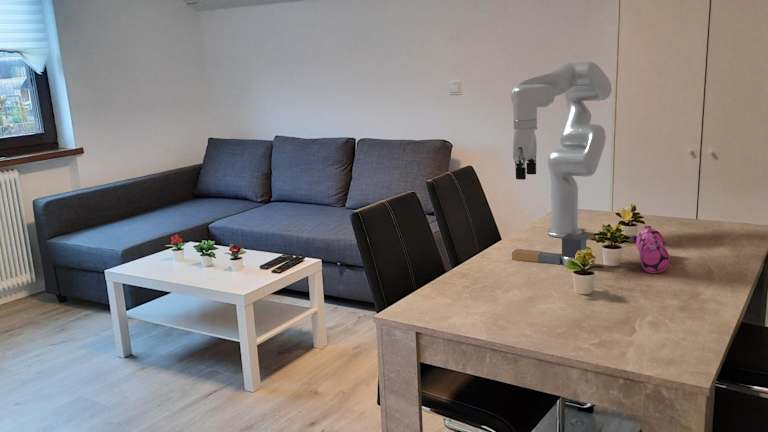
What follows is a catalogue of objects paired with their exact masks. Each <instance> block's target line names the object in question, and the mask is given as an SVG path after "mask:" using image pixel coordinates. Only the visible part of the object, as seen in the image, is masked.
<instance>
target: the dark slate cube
mask: <svg viewBox="0 0 768 432" xmlns="http://www.w3.org/2000/svg"><path fill="white" fill-rule="evenodd" d="M585 249H586V250H587V235H586V234H581V235H578V234H567V235H565V236H564V237H561V254H562V257H570V258H575V254H576V252H577V251H578V250H585Z"/></svg>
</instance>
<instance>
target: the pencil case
mask: <svg viewBox="0 0 768 432" xmlns="http://www.w3.org/2000/svg"><path fill="white" fill-rule="evenodd" d="M643 227H644V229H642V230H640V232H639V233H638V235H632V236H631V242H635V243H636V248H637V250H638V253H639V261H640V265H641V267H642V269H643V270H644V271H645V272H647V273H649V274H659V273H662V272H665V270H666V269H667V268H668V266H669V265H670V263H671V258H670V254H669V252H668V250H667V248H666V247H665V241H664V238H663V235H662V234H661V232H659V231H658V230H657V229H655V228H653V227H652V225H644V226H643Z"/></svg>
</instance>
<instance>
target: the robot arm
mask: <svg viewBox="0 0 768 432" xmlns="http://www.w3.org/2000/svg"><path fill="white" fill-rule="evenodd" d="M611 93H612V82H611V80H610V78H609V77H608V75H607V74H606V73H605V72H604V70H603V69H602V67H600V66H599V65H598V64H596V63H595V62H593V61H577V62H576V61H575V62H574V61H573V62H567V63H564V64H562V65H561V66H559V67H557V68H556V69H554V70H552V71H550V72H547V73H545V74H541V75H538V76H535V77H532V78H528V79H525V80H523V81H522V82H521V81H520V82H519V83H518V84H516V85H515V86H514V87H513V89H512V90H511V94H510V101H511V103H512V111H513V131H514V133H513V142H512V143H513V144H512V145H513V147H512V159H513V160H514V164H515V165H514V167H515V179H516V180H523V181H525V180H526V179H527V176H526V175H536V174H537V151H538V150H537V133H536V132H537V131H536V130H538V108H547V107H549V106H551V105H552V104H553V102H554V101H555V98H556V97H558V96H560V95H563V94H564V98H565V102H566V106H567V111H568V112H567V116H566V120H565V123H564V126H563V127H562V132H561V135H560V138H559V140H560V141H559V142H560V143H559V144H560V145H561V147H562V148H559V149H558V148H557V149H555V150H553V151H551V152H550V154H549V155H548V158H547V164H548V165H547V166H548V171H549V177H550V202H551V203H550V210H551V211H550V212H551V214H550V215H551V216H550V219H551V222H550V223H551V225H550V228H548V229H547V231H546V233H547V235H548V236H551V237H555V238H563V237H564V236H565V235H567V234H578V235H583V231H582V230H583V229H581V228H579V225H578V224H579V223H578V221H579V214H578V213H579V210H578V209H579V193H578V192H579V187H578V184H577V181H576V180H575V177H591V176H593V175H595V173H596V172H597V169H598V167H599V164H600V160H601V157H602V154H603V150H604V148H605V144H606V130H605V128H604V127H603V126H602V125H600V124H594V123H591V121H592V113H591V111H590V109H589V107H588V106H586V104H585V103H584V102H587V101H588V102H592V101H595V102H597V101H598V102H600V101H605V100H607V99H608V98H609V97H610V96H611ZM525 166H526V167H525Z"/></svg>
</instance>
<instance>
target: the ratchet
mask: <svg viewBox="0 0 768 432" xmlns="http://www.w3.org/2000/svg"><path fill="white" fill-rule="evenodd" d="M511 260H513V261H522V262H531V263H540V264H541V263H543V264H552V265H553V264H554V265H562V266H564V267H566V266H565V264H566V262H567V261H568V260H575V258H570V257H562V253H556V252H555V253H554V252H545V251H543V250H534V249H521V248H515V250H513V251H512V252H511Z"/></svg>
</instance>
